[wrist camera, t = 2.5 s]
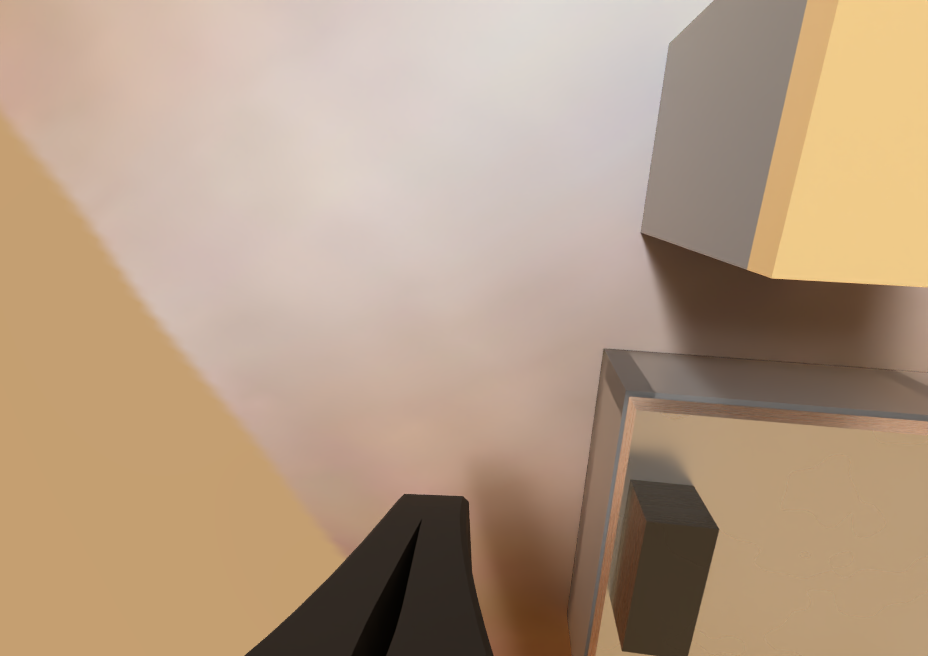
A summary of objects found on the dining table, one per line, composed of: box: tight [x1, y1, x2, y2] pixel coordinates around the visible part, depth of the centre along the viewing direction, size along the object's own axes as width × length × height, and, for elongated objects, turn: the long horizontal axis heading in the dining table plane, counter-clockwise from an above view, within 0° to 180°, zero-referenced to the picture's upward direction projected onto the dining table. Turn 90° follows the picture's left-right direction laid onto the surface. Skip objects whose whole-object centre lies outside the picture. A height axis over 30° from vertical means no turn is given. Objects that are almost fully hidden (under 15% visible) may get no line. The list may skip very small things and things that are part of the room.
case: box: [567, 349, 928, 656], centre depth 11 cm, size 16×9×3 cm, turn 88°
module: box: [641, 0, 928, 287], centre depth 7 cm, size 4×4×6 cm
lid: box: [588, 397, 928, 656], centre depth 9 cm, size 7×9×2 cm
